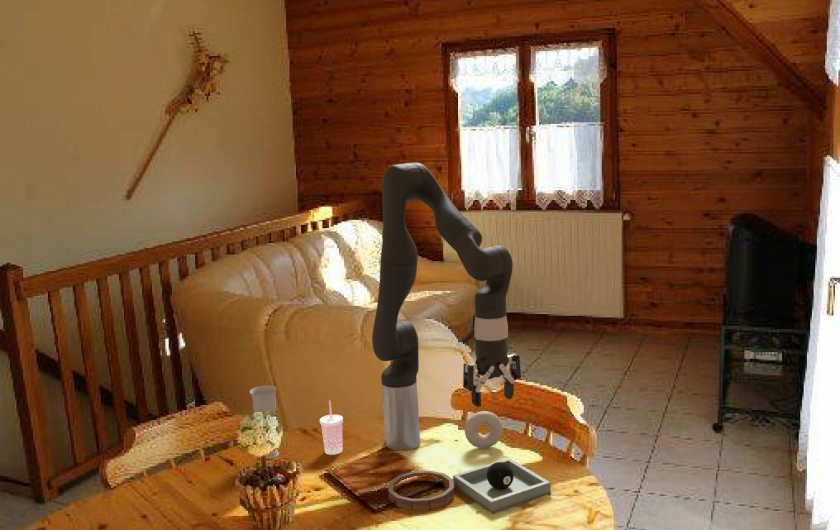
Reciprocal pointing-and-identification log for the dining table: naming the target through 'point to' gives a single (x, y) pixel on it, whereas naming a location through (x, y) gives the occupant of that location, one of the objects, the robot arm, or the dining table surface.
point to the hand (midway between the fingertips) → (492, 402)
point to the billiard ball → (500, 475)
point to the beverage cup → (332, 432)
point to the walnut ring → (423, 502)
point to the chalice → (264, 404)
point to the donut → (481, 419)
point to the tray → (497, 500)
